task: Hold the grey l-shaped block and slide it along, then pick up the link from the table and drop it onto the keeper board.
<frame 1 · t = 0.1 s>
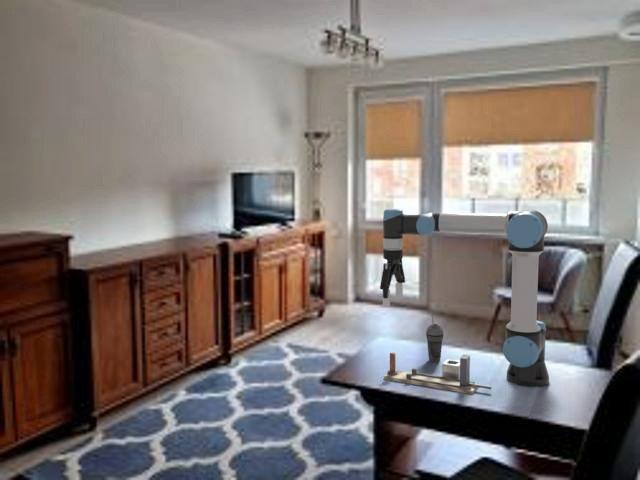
hand: (392, 302, 226), 28 cm above the table, fingers open, 13 cm apart
beverage cup: (434, 361, 241), on the table
grey l-shaped block: (476, 372, 208), point 7 cm above the table, slide at 0.0 cm
link: (452, 377, 222), on the table
keeper board: (430, 382, 217), on the table
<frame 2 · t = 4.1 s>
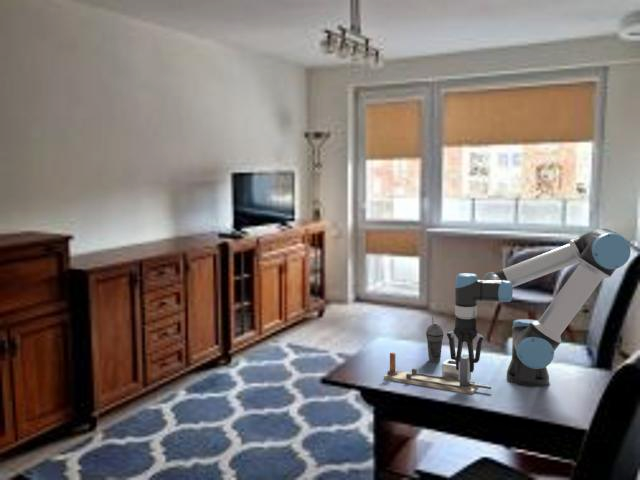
hand: (464, 379, 210), 4 cm above the table, fingers closed on grey l-shaped block, 2 cm apart
grey l-shaped block: (476, 372, 208), point 7 cm above the table, slide at 0.0 cm, touching gripper
everything else where it was.
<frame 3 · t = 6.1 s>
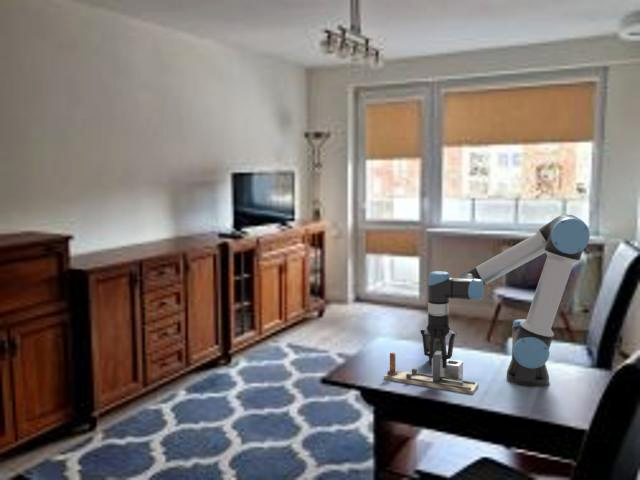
hand: (437, 374, 215), 4 cm above the table, fingers closed on grey l-shaped block, 2 cm apart
grey l-shaped block: (448, 368, 213), point 7 cm above the table, slide at 10.0 cm, touching gripper
everything else where it was.
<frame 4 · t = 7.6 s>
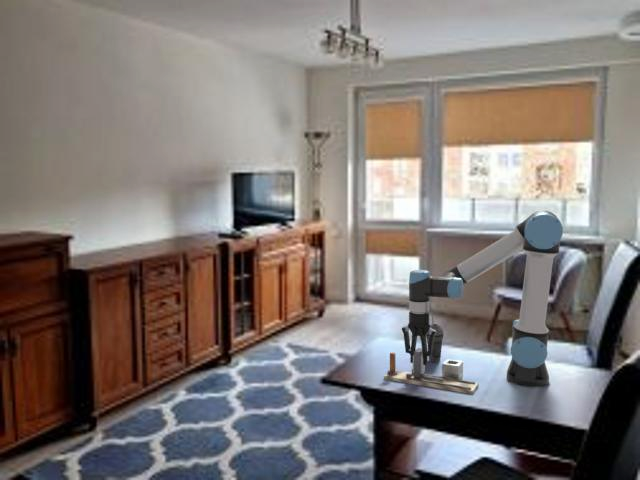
hand: (418, 371, 218), 4 cm above the table, fingers closed on grey l-shaped block, 2 cm apart
grey l-shaped block: (429, 365, 216), point 7 cm above the table, slide at 17.4 cm, touching gripper
everything else where it was.
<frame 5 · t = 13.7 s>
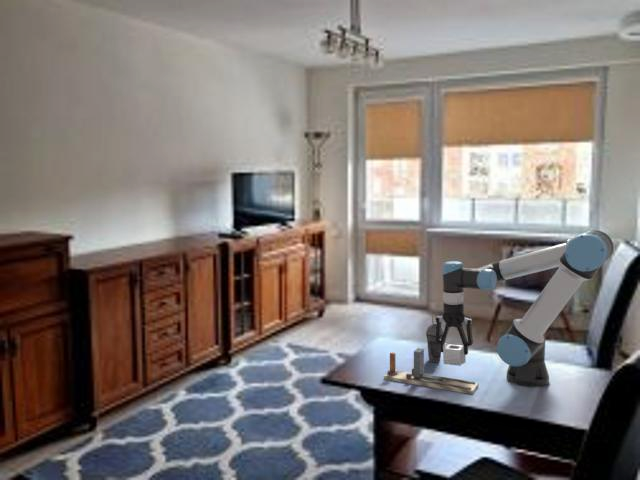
hand: (454, 361, 220), 6 cm above the table, fingers closed on link, 6 cm apart
grey l-shaped block: (429, 365, 216), point 7 cm above the table, slide at 17.5 cm
link: (454, 362, 221), point 6 cm above the table, touching gripper
everything else where it was.
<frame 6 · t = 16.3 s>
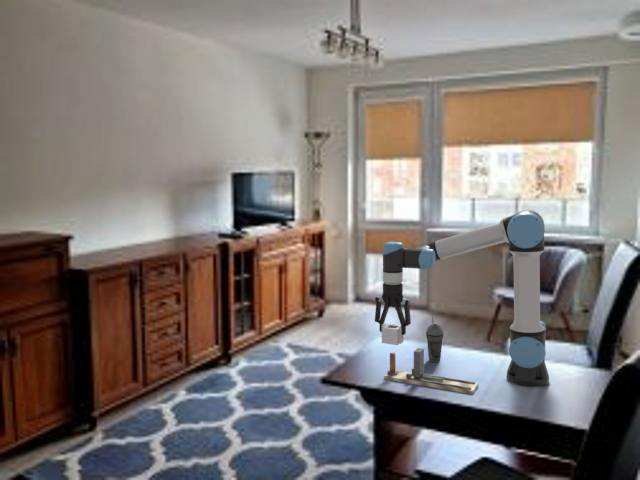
hand: (392, 341, 222), 14 cm above the table, fingers closed on link, 6 cm apart
link: (392, 341, 222), point 14 cm above the table, touching gripper
everything else where it was.
when the fingers open (2 cm above the table, at t = 19.4 s): link stays where it is, resting on keeper board.
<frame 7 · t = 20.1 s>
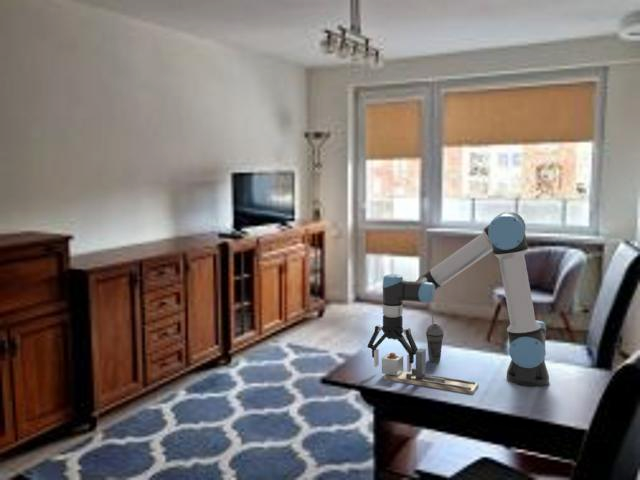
hand: (392, 368, 223), 3 cm above the table, fingers open, 13 cm apart
grey l-shaped block: (431, 365, 216), point 7 cm above the table, slide at 16.7 cm, touching gripper, hand
link: (392, 371, 224), point 2 cm above the table, touching keeper board
everything else where it was.
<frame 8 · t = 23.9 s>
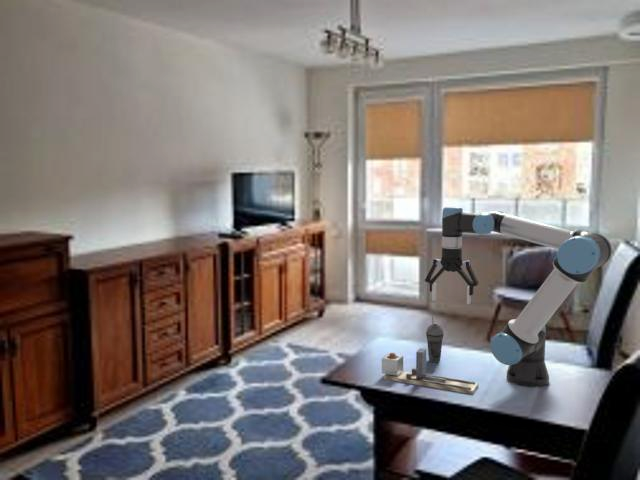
hand: (451, 301, 223), 29 cm above the table, fingers open, 13 cm apart
grey l-shaped block: (431, 365, 216), point 7 cm above the table, slide at 16.5 cm
everything else where it was.
at the end: grey l-shaped block slide at 16.5 cm; link 0.1 cm from the target spot on the keeper board, point 1.8 cm above the keeper board's base; the gripper is holding nothing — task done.
